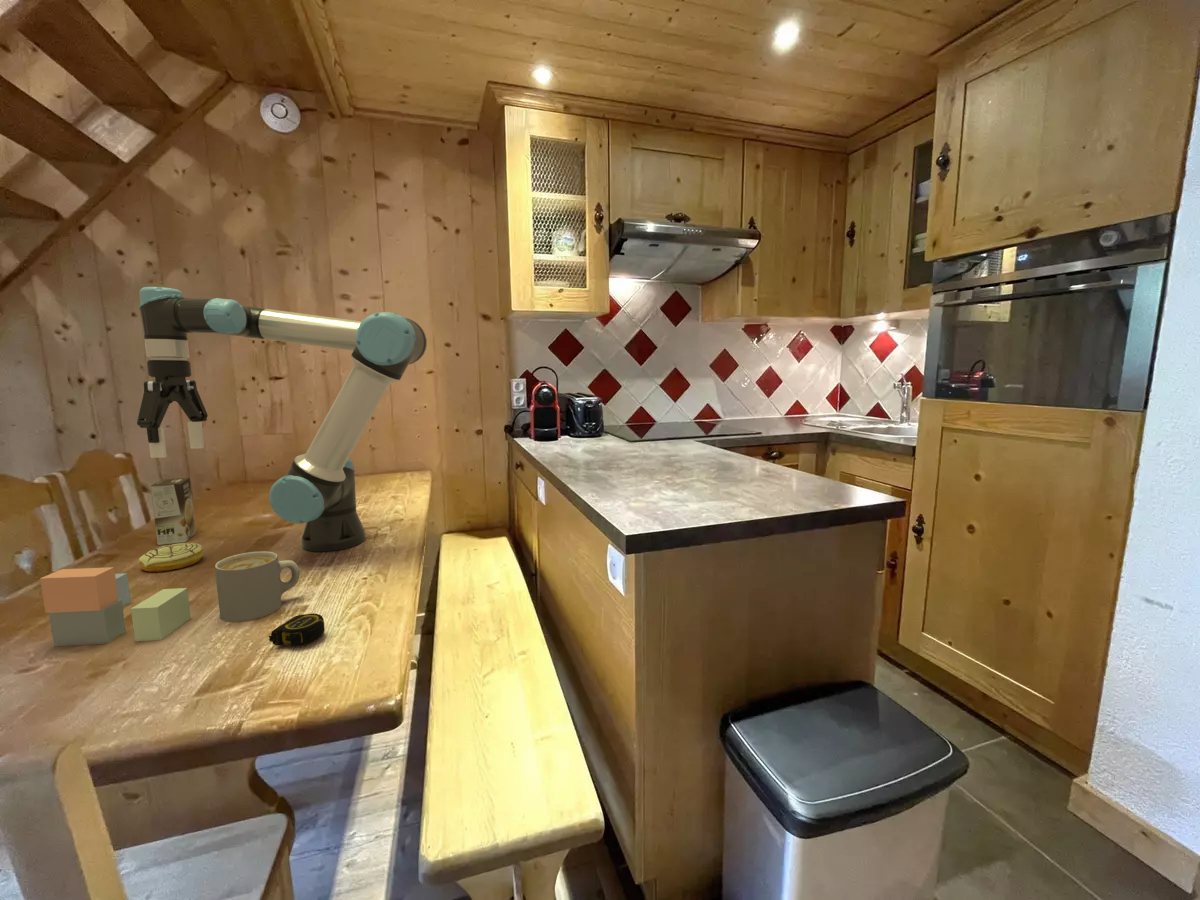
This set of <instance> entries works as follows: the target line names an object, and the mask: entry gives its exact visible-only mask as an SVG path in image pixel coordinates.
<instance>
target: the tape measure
mask: <svg viewBox="0 0 1200 900" xmlns="http://www.w3.org/2000/svg"><path fill="white" fill-rule="evenodd" d="M325 627H326V626H325V620H324V618H323V616H322V615H321V614H319V613H306V614H298V615H295V616H293V617H291V618H290V619H289V620H287V621H285V622H284V623H282V624H280V625H279V626H277V627H276V628H274V629H273V630H272V631H271V634H270V635H268V638H269V639H268V640H269V642H271V643H272V644H273V645H274V646H278V647H279V646H286V647H291V648H292V647H293V648H294V647H296V648H297V647H302V646H306V645H308V644H309V645H310V644H311V643H314V642H316V641H317V640H319V639H320V638H321V637H322V636H323V634H325V632H326V631H325V630H326V629H325Z"/></svg>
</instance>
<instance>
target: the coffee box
mask: <svg viewBox="0 0 1200 900" xmlns="http://www.w3.org/2000/svg"><path fill="white" fill-rule="evenodd" d="M191 483H192V482H191V478H190V477H181V478H180V477H179V478H177V477H176V478H170V479H168V478H167V479H166V478H165V479H161V480H159V481H158V482H155V483H154V484H151V485H150V491H151V499H152V500H151V501H152V507H153V509H152V510H153V517H154V525H155V526H154V527H155V535H156V536H155V537H156V541H157V545H158V546H162V545H163V546H164V545H172V544H179V543H187V542H188V541H189V540H190V539H191V538H192V537H193V536H194V535H195V534H196V533H197V532H196V523H195V521H196V520H195V511H194V503H193V493H192V484H191Z"/></svg>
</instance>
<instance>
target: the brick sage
mask: <svg viewBox="0 0 1200 900" xmlns="http://www.w3.org/2000/svg"><path fill="white" fill-rule="evenodd" d="M188 592H189V591H188V587H183V588H182V587H180V588H179V587H178V588H163V589H161V590H160V591H158V592H155V593H154V594H152V595H151V596H149V597H147V599H144V600H142V601H141V602H140V603H138V604H136V605H135V606H133V607H131V608H130V611H131V612H130V614H131V620H132V626H133V635H134V642H146V641H159V640H160V641H162V640H163V639H165V638H166V637H167V636H169V635H170V634H171V633H173V632H174V631H175V630H176V629H178V628H180V626H182V625H184V624H185V623H186V622H188V621H189V620H191V618H192V617H191V609H190V599H189V593H188Z"/></svg>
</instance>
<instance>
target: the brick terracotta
mask: <svg viewBox="0 0 1200 900" xmlns="http://www.w3.org/2000/svg"><path fill="white" fill-rule="evenodd" d="M115 574H116V570H115V567H113V566H112V567H88V568H87V567H86V568H63V569H58V570H56V571H55V572H53V573H50V574H47V575H45V576H42V577H40V578H39V581H40V588H41V593H42V599H43V605H44V606H43V607H44V611H45V614H49V613H59V612H79V611H100V610H102V609H104V608H105V607H107V606H109V605H111V604H113V603H114V602H116V601H118V600H119V599H118V592H117V585H116V577H115Z"/></svg>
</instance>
